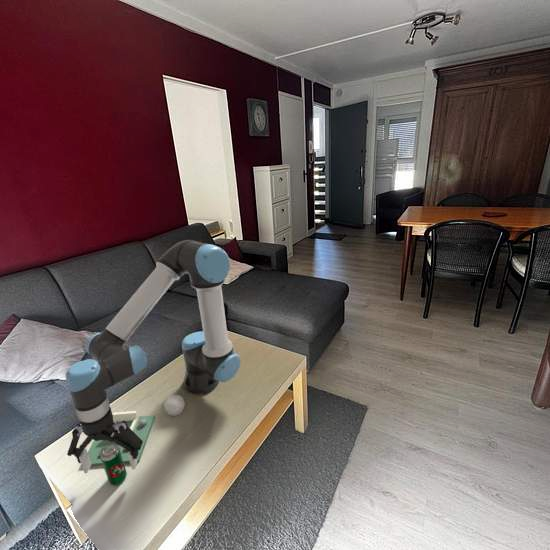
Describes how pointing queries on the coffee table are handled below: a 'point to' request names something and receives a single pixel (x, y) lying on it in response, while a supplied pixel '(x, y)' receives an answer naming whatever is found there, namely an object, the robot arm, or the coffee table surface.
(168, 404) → the seamed sphere
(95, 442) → the board
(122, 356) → the robot arm
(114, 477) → the soda can
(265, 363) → the coffee table surface
